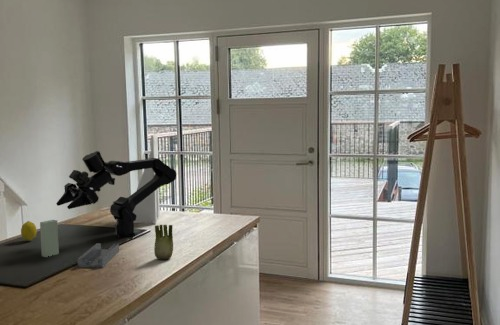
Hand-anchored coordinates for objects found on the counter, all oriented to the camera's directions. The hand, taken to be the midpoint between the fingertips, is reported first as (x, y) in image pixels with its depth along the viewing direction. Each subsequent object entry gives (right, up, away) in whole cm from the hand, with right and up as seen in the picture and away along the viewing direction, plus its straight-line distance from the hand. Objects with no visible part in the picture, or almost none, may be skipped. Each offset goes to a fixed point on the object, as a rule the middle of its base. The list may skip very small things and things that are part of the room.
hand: (62, 206), depth 170 cm
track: (+18, -17, -12) cm, 27 cm away
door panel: (-1, -16, -7) cm, 18 cm away
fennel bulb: (+40, -17, -13) cm, 45 cm away
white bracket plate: (+18, -11, +47) cm, 52 cm away
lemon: (-17, -15, +11) cm, 26 cm away
